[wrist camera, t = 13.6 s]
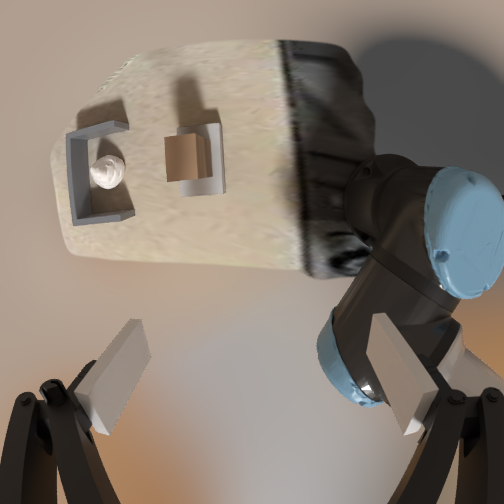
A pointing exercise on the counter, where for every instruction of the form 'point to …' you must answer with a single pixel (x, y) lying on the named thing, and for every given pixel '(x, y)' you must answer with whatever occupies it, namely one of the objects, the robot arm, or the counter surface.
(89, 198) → the box
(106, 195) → the counter surface
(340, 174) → the counter surface
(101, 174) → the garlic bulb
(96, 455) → the robot arm
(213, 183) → the white-trimmed wooden block
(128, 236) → the counter surface
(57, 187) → the counter surface
